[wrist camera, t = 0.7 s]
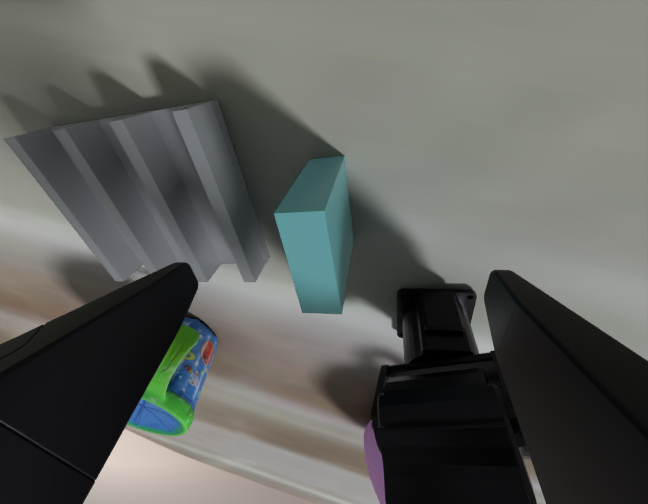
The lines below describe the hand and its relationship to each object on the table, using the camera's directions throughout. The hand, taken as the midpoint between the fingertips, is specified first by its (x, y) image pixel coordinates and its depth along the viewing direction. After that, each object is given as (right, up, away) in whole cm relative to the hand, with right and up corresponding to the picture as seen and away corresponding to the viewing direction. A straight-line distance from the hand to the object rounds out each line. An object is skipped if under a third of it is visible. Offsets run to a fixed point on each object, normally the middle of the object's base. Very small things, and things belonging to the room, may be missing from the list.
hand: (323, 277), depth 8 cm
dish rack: (-13, +5, +15) cm, 21 cm away
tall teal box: (+1, +5, +13) cm, 14 cm away
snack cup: (-17, -10, +28) cm, 34 cm away
